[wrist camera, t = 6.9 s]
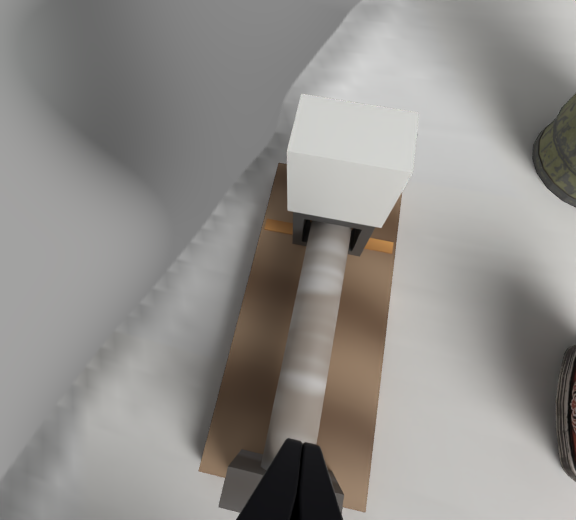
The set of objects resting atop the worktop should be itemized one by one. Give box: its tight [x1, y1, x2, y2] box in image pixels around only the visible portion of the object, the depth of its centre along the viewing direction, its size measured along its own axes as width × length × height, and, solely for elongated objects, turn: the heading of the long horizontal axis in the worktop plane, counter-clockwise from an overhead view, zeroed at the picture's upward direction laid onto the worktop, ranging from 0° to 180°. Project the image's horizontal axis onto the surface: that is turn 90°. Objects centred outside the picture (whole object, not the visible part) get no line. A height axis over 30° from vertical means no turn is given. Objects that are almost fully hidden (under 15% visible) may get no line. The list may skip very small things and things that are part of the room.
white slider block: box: [287, 94, 419, 257], centre depth 19 cm, size 3×5×9 cm, turn 78°
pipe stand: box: [199, 163, 402, 514], centre depth 20 cm, size 20×9×6 cm, turn 168°
